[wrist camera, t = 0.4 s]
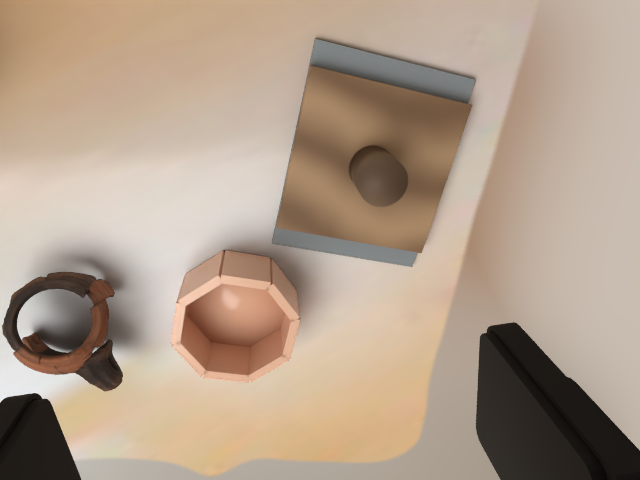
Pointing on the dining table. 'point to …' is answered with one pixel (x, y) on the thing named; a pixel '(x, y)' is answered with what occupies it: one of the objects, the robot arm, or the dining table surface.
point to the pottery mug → (81, 360)
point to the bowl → (235, 317)
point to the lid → (369, 160)
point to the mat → (390, 74)
